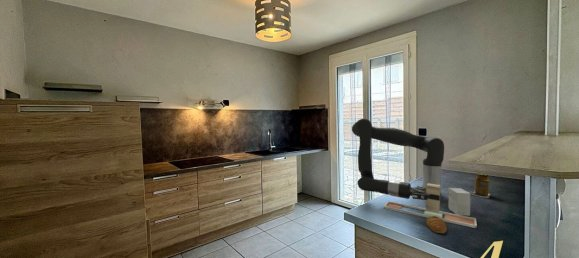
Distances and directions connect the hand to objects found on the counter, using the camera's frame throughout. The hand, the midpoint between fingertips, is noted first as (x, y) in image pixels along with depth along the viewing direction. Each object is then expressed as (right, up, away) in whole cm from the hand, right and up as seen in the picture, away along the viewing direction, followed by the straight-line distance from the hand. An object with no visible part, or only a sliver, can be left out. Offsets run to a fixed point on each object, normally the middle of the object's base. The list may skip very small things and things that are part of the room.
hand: (439, 196), depth 103 cm
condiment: (+43, -8, +29) cm, 52 cm away
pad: (-2, -9, +2) cm, 10 cm away
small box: (+12, -9, +5) cm, 16 cm away
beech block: (-2, -6, +2) cm, 7 cm away
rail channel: (-4, -9, +3) cm, 11 cm away
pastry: (-8, -10, -10) cm, 16 cm away
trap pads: (-4, -9, +3) cm, 11 cm away
